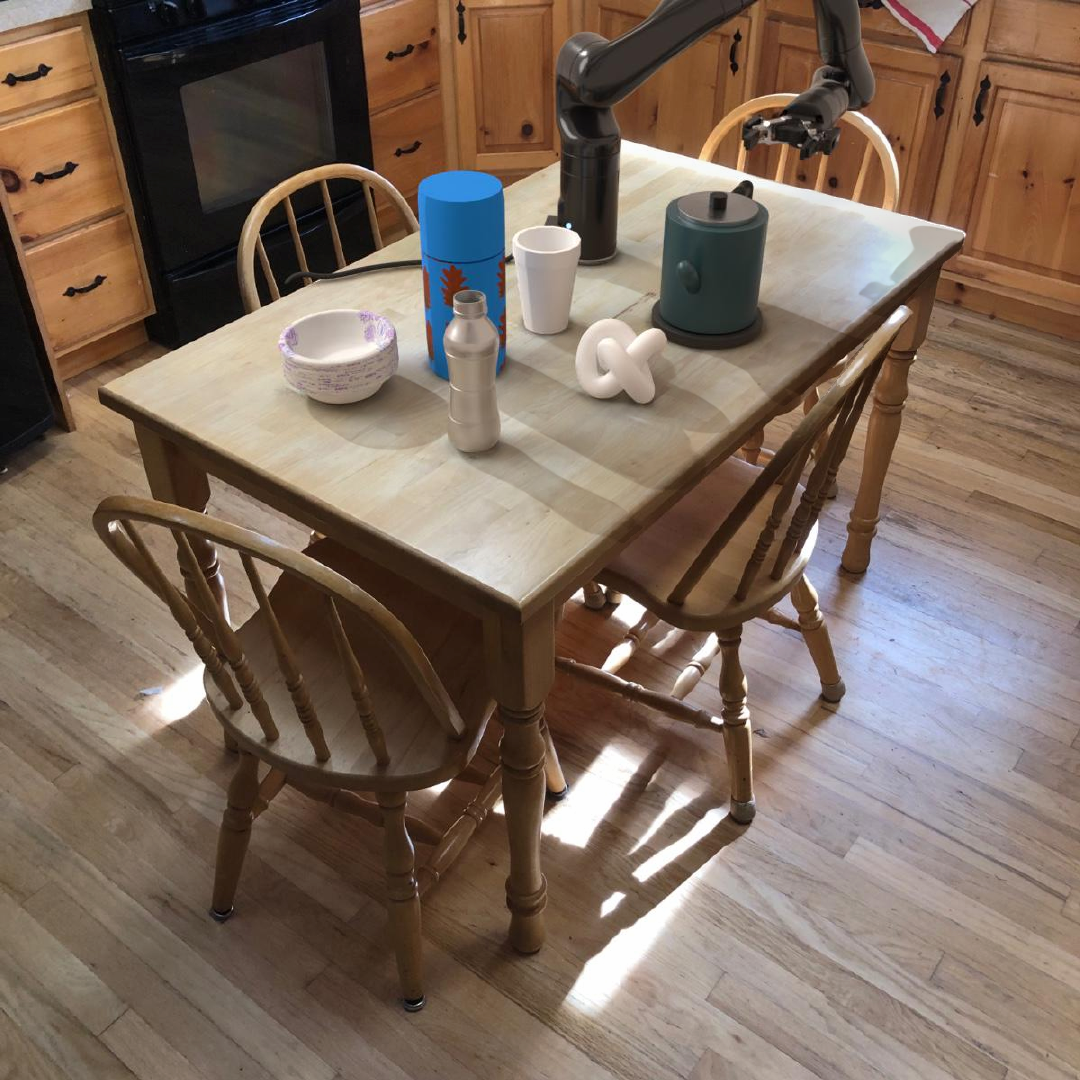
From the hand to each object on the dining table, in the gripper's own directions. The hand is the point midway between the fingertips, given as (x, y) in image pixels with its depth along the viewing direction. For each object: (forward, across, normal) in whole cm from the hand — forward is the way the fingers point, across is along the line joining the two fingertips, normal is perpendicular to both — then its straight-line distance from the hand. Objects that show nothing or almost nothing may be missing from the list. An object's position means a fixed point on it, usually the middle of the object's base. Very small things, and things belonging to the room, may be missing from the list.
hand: (774, 149), depth 176 cm
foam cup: (+34, -20, +19) cm, 44 cm away
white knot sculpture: (+46, -2, +19) cm, 50 cm away
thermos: (+49, -24, +18) cm, 58 cm away
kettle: (+22, 0, +17) cm, 28 cm away
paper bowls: (+63, -35, +18) cm, 74 cm away
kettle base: (+22, 0, +18) cm, 29 cm away
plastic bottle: (+66, -13, +18) cm, 70 cm away
